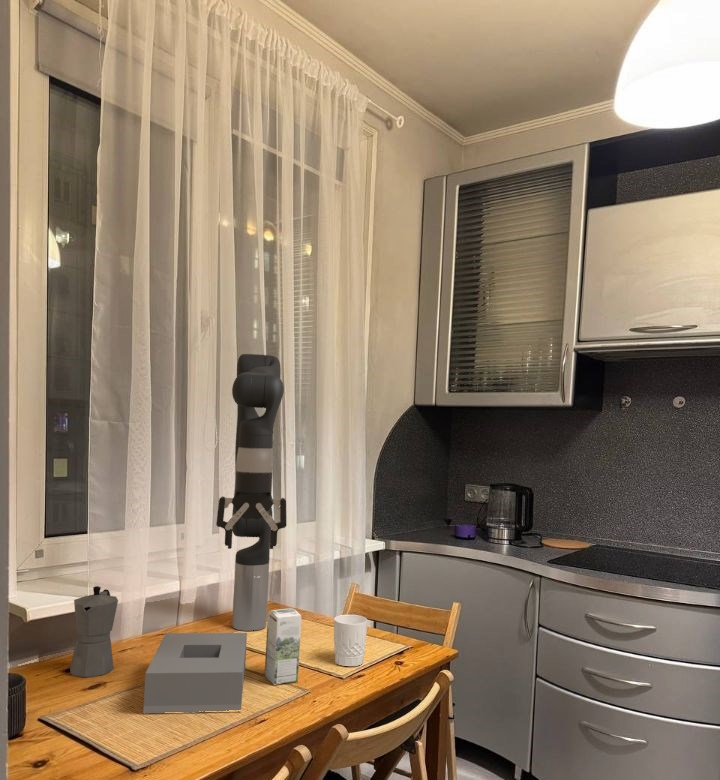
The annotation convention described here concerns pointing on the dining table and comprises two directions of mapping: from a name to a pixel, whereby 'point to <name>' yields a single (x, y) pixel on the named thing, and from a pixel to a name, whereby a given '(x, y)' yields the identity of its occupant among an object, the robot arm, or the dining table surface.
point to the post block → (196, 673)
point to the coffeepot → (93, 634)
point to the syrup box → (283, 646)
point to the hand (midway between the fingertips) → (250, 548)
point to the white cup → (349, 639)
